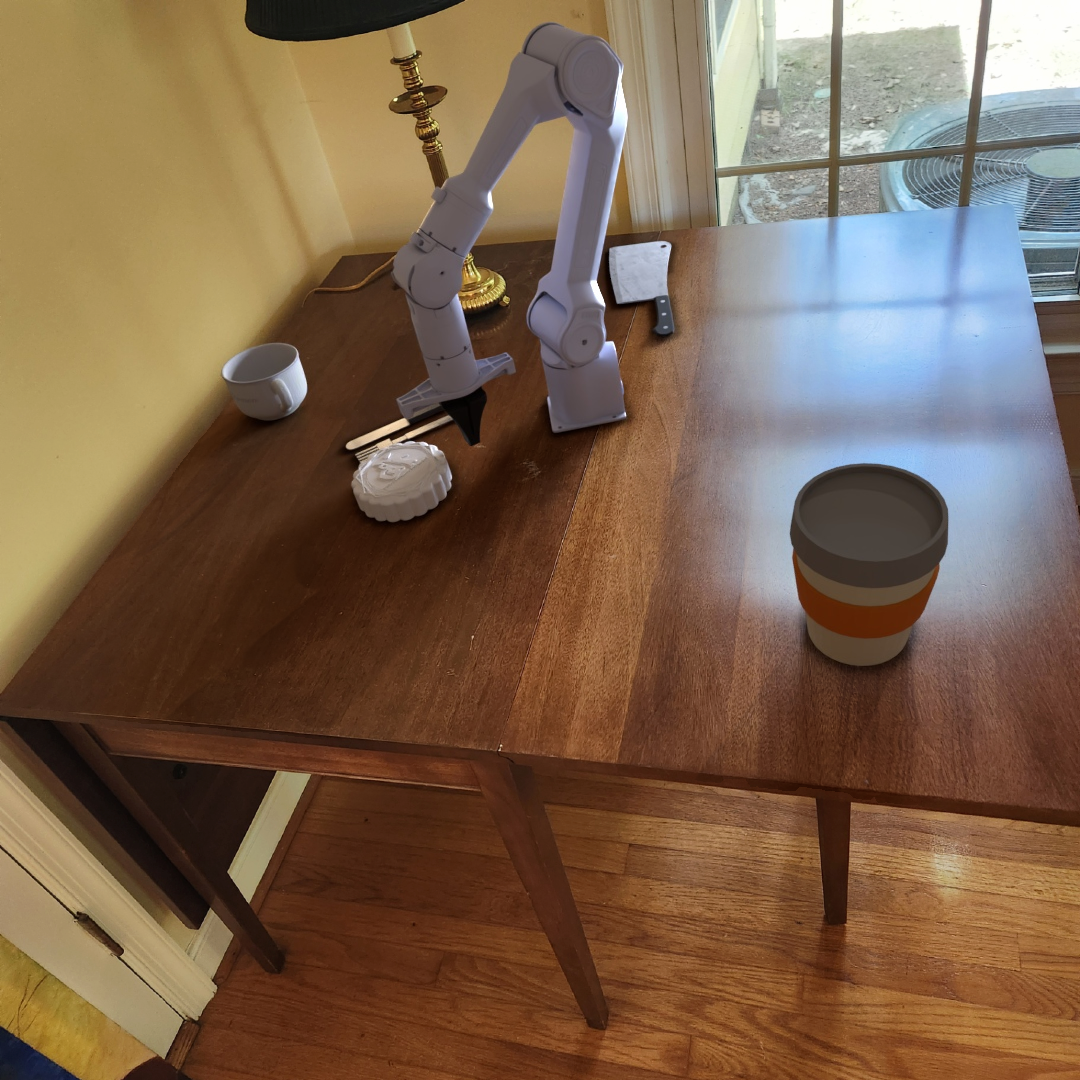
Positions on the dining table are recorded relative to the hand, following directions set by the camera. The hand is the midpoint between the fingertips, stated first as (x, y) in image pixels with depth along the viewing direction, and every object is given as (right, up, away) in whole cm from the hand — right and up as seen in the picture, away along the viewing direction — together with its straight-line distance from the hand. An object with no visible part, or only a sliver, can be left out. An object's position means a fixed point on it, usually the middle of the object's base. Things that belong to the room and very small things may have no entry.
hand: (472, 440), depth 111 cm
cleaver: (+24, +26, +25) cm, 43 cm away
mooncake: (-8, -6, 0) cm, 10 cm away
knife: (-10, +3, +10) cm, 15 cm away
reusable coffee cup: (+38, -21, -27) cm, 51 cm away
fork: (-8, +1, +8) cm, 12 cm away
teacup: (-29, +6, +18) cm, 34 cm away
